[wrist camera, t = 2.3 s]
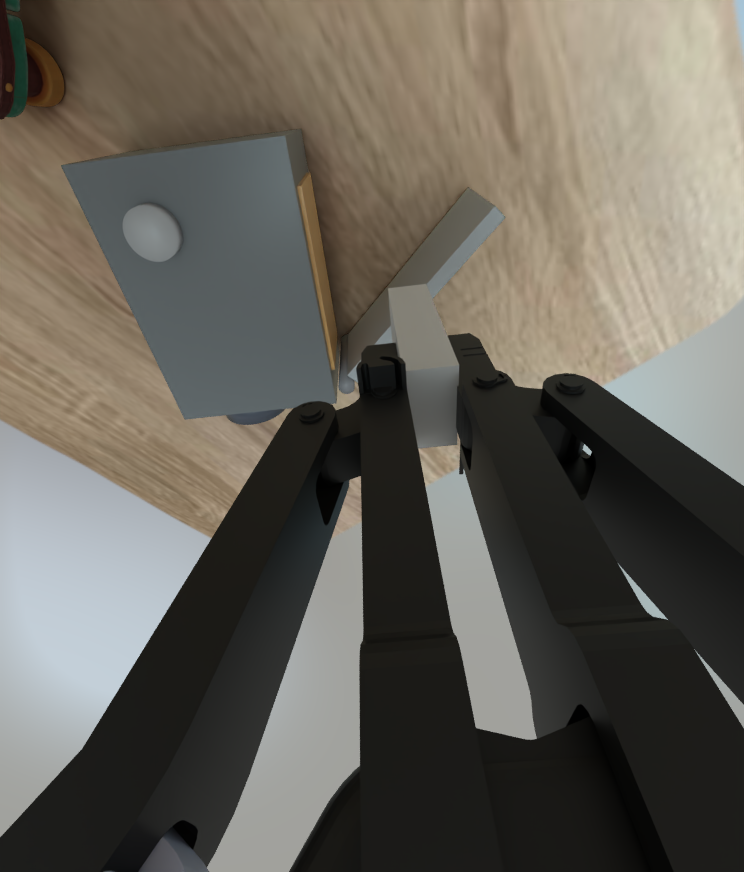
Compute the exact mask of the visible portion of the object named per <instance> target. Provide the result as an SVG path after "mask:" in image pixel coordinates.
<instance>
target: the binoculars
mask: <svg viewBox="0 0 744 872" xmlns="http://www.w3.org/2000/svg"><path fill="white" fill-rule="evenodd" d="M6 9H8V10H11V11H14V12H19V11H20V2H19V0H0V119H4V118H5V117H16V116H18V115H19V114H21V113H22V112H23V110H24V108H25V106H26V104H28V105H31V106H42V107H50V106H54V105H56V104H58V103H59V102H60V101H61V99H62V97H63V95H64V80H63V77H62V73H61V71H60V69H59V67H58V65H57V63H56V62H55V60H54V59H53V58H52V56H51V55H50V54H49V53H48V52H47V51H46V50H45V49H44V48H43V47H41V46H40V45H39V44H37V43H36V42H34V41H32V40H30V39H27V38H24V31H23V25H22V21H21V20H20V18H19V17H17V16H14V15H11V14H7V11H6Z"/></svg>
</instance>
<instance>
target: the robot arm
mask: <svg viewBox="0 0 744 872" xmlns="http://www.w3.org/2000/svg"><path fill="white" fill-rule="evenodd" d="M388 295H389V308H390V320H391V333H392V343H387V344H378V345H369V346H366V348H365V349H364V350H363V352H362V353H361V362H359V363H358V365H357V367H356V372H357V379H358V386H359V393H360V398H359V399H358V400H357V401H356V402H355V403H353V404H351V405H350V406H348V407H345V408H342V409H339V410H335V408H334V407H333V405H331V404H329V403H327V402H322V401H313V402H312V401H311V402H307V403H303V404H301V405H299V406H297V407H295V408H294V409H292V411H291V412H290V413H289V414H288V415H287V417H286V418H285V420H284V422H283V423H282V425H281V427H280V428H279V430H278V431H277V433H276V435H275V436H274V438H273V440H272V441H271V443H270V444H269V446H268V448H267V449H266V451H265V453H264V454H263V456H262V457H261V459H260V461H259V462H258V464H257V466H256V467H255V469H254V470H253V472H252V474H251V475H250V477H249V479H248V480H247V482H246V483H245V485H244V487H243V488H242V490H241V492H240V493H239V495H238V497H237V498H236V500H235V501H234V503H233V505H232V506H231V508H230V510H229V511H228V513H227V514H226V516H225V518H224V519H223V521H222V523H221V524H220V526H219V527H218V529H217V531H216V532H215V534H214V536H213V537H212V539H211V540H210V542H209V544H208V545H207V547H206V549H205V550H204V552H203V553H202V555H201V557H200V558H199V560H198V562H197V564H196V565H195V566H194V568H193V570H192V571H191V573H190V575H189V576H188V578H187V579H186V581H185V583H184V584H183V586H182V588H181V589H180V591H179V592H178V594H177V596H176V597H175V599H174V601H173V602H172V604H171V606H170V607H169V609H168V610H167V612H166V614H165V615H164V617H163V618H162V620H161V622H160V623H159V625H158V627H157V628H156V630H155V631H154V633H153V635H152V636H151V638H150V640H149V641H148V643H147V644H146V646H145V648H144V649H143V651H142V653H141V654H140V656H139V657H138V659H137V661H136V662H135V664H134V666H133V667H132V669H131V670H130V672H129V674H128V675H127V677H126V679H125V680H124V682H123V684H122V685H121V687H120V688H119V690H118V692H117V693H116V695H115V697H114V698H113V700H112V701H111V703H110V705H109V706H108V708H107V710H106V711H105V713H104V714H103V716H102V718H101V719H100V721H99V723H98V724H97V726H96V727H95V729H94V731H93V732H92V734H91V736H90V737H89V739H88V740H87V742H86V744H85V745H84V747H83V749H82V750H81V751H80V752H79V753H78V754H77V755H76V756H75V757H74V759H72V761H71V762H70V763H69V764H68V765H67V766H66V767H65V768H64V769H63V770H62V771H61V772H60V773H59V775H58V776H57V777H56V778H55V779H54V780H53V781H52V782H51V783H50V784H49V785H48V786H47V788H46V789H45V790H44V791H43V792H42V793H41V794H40V795H39V796H38V797H37V798H36V799H35V801H34V802H33V803H32V804H31V805H30V806H29V807H28V808H27V809H26V810H25V812H23V813H22V815H21V816H20V817H19V818H18V819H17V820H16V821H15V822H14V823H13V824H12V826H10V828H9V829H8V830H7V831H6V832H5V833H4V834H3V835H2V836H1V837H0V872H209V871H208V869H207V866H208V864H209V862H210V861H211V859H212V857H213V856H214V854H215V852H216V850H217V848H218V846H219V844H220V842H221V839H222V837H223V835H224V833H225V831H226V829H227V827H228V825H229V823H230V821H231V819H232V817H233V815H234V812H235V810H236V807H237V805H238V802H239V799H240V797H241V794H242V792H243V789H244V787H245V784H246V782H247V779H248V777H249V774H250V771H251V768H252V765H253V763H254V760H255V757H256V754H257V751H258V748H259V745H260V742H261V739H262V737H263V734H264V731H265V728H266V725H267V722H268V719H269V716H270V713H271V710H272V708H273V704H274V702H275V699H276V696H277V693H278V690H279V687H280V684H281V681H282V679H283V676H284V673H285V670H286V667H287V664H288V661H289V658H290V655H291V652H292V650H293V646H294V644H295V641H296V638H297V635H298V632H299V629H300V627H301V623H302V621H303V618H304V615H305V612H306V609H307V606H308V603H309V600H310V598H311V595H312V592H313V589H314V586H315V583H316V580H317V577H318V574H319V571H320V569H321V566H322V563H323V560H324V557H325V554H326V551H327V548H328V545H329V543H330V540H331V537H332V534H333V531H334V528H335V525H336V522H337V519H338V517H339V514H340V511H341V508H342V505H343V502H344V499H345V496H346V493H347V491H348V488H349V480H350V479H353V478H356V477H358V476H361V500H362V561H363V562H362V563H363V622H364V623H363V624H364V633H363V634H364V635H363V641H362V643H361V647H360V766H359V767H358V768H357V769H356V770H355V771H354V772H353V773H352V774H351V775H350V776H349V777H348V778H347V779H346V780H345V781H344V782H343V783H342V785H341V786H340V787H339V788H338V790H337V791H336V793H335V794H334V795H333V797H332V798H331V799H330V801H329V803H328V804H327V806H326V807H325V809H324V811H323V812H322V814H321V816H320V818H319V820H318V821H317V823H316V825H315V827H314V828H313V830H312V832H311V834H310V836H309V837H308V839H307V841H306V843H305V844H304V846H303V848H302V850H301V851H300V853H299V855H298V857H297V858H296V860H295V862H294V864H293V866H292V867H291V869H290V871H289V872H744V728H743V727H742V725H741V723H740V722H739V720H738V719H737V717H736V715H735V714H734V712H733V711H732V709H731V707H730V706H729V704H728V703H727V701H726V700H725V698H724V696H723V695H722V693H721V691H720V690H719V688H718V687H717V685H716V684H715V682H714V680H713V679H712V677H711V675H710V674H709V672H708V671H707V669H706V668H705V666H704V664H703V663H702V661H701V660H700V658H699V656H698V655H697V653H698V654H699V655H700V656H701V657H702V658H703V659H704V660H705V662H706V663H707V664H708V665H709V666H710V667H711V668H712V669H713V671H714V672H715V673H716V674H717V675H718V676H719V677H720V678H721V680H722V681H723V682H724V683H725V684H726V685H727V686H728V687H729V688H730V689H731V691H732V692H733V693H734V694H735V695H736V696H737V698H738V699H739V700H740V701H741V702H742V703H743V704H744V486H743V485H741V484H740V483H738V482H737V481H736V480H734V479H732V478H731V477H730V476H729V475H727V474H726V473H724V472H723V471H721V470H720V469H718V468H717V467H716V466H714V465H713V464H711V463H710V462H708V461H707V460H706V459H704V458H703V457H701V456H700V455H698V454H697V453H695V452H694V451H692V450H691V449H690V448H688V447H687V446H685V445H684V444H683V443H681V442H680V441H678V440H677V439H675V438H674V437H672V436H671V435H670V434H668V433H667V432H665V431H664V430H663V429H661V428H660V427H658V426H657V425H655V424H654V423H653V422H651V421H650V420H648V419H647V418H645V417H644V416H642V415H641V414H640V413H638V412H637V411H635V410H634V409H632V408H631V407H629V406H628V405H627V404H625V403H624V402H622V401H621V400H619V399H618V398H617V397H615V396H614V395H612V394H611V393H610V392H608V391H607V390H605V389H604V388H602V387H601V386H599V385H598V384H597V383H595V382H594V381H592V380H590V379H588V378H586V377H584V376H580V375H576V374H571V373H570V374H569V373H564V374H557V375H553V376H551V377H548V378H547V379H546V380H545V381H544V382H543V388H542V389H534V388H523V387H518V386H515V384H514V383H513V381H512V379H511V378H510V377H509V376H508V375H507V374H505V373H503V372H501V371H498V370H495V368H494V366H493V364H492V362H491V360H490V359H489V357H488V355H487V354H486V351H485V349H484V348H483V346H482V344H481V342H480V340H479V339H478V338H476V337H475V336H473V335H471V334H470V333H467V334H458V335H449V336H447V334H446V331H445V329H444V326H443V324H442V321H441V319H440V316H439V314H438V312H437V309H436V307H435V304H434V302H433V299H432V297H431V294H430V292H429V289H428V287H427V285H426V284H421V285H412V286H404V287H395V288H388ZM457 432H458V435H459V438H460V467H459V470H460V471H459V474H463V469H464V470H465V474H466V477H467V480H468V483H469V487H470V490H471V494H472V497H473V501H474V504H475V507H476V510H477V514H478V517H479V521H480V524H481V527H482V531H483V534H484V537H485V541H486V544H487V548H488V551H489V554H490V558H491V561H492V564H493V568H494V571H495V574H496V578H497V581H498V585H499V588H500V591H501V594H502V598H503V601H504V605H505V608H506V612H507V615H508V618H509V622H510V625H511V628H512V632H513V635H514V638H515V642H516V645H517V648H518V652H519V655H520V659H521V662H522V665H523V669H524V672H525V675H526V679H527V682H528V686H529V689H530V695H531V700H532V713H533V721H534V727H535V732H536V736H537V739H535V740H525V739H521V738H516V737H512V736H507V735H503V734H499V733H494V732H490V731H486V730H481V729H477V728H476V727H475V722H474V717H473V711H472V706H471V701H470V696H469V691H468V686H467V681H466V676H465V671H464V666H463V661H462V656H461V652H460V647H459V643H458V640H457V637H456V636H455V635H454V633H453V630H452V626H451V622H450V616H449V610H448V605H447V600H446V595H445V589H444V584H443V579H442V574H441V568H440V563H439V557H438V552H437V547H436V541H435V536H434V530H433V525H432V520H431V514H430V509H429V504H428V498H427V493H426V488H425V482H424V477H423V472H422V466H421V461H420V456H419V450H418V448H428V447H438V446H448V445H457ZM584 444H585V445H586V446H588V448H589V449H590V450H591V451H592V453H591V456H590V455H588V454H587V453H586V452H584V451H583V450H582V449H583V446H584ZM618 564H619V565H620V566H621V567H622V568H623V569H624V570H625V572H626V573H627V574H628V575H629V576H630V577H631V578H632V579H633V580H634V582H635V583H636V584H637V585H638V586H639V587H640V588H641V590H642V591H643V592H644V593H645V594H646V595H647V596H648V597H649V599H650V600H651V601H652V602H653V603H654V604H655V605H656V606H657V607H658V609H659V610H660V611H661V612H662V613H663V614H664V615H665V617H666V618H667V619H668V620H666V619H661V618H656V617H652V616H651V615H650V614H649V613H647V612H646V611H645V609H644V608H643V606H642V605H641V603H640V601H639V600H638V598H637V596H636V594H635V593H634V591H633V589H632V588H631V586H630V584H629V583H628V581H627V579H626V577H625V575H624V574H623V572H622V570H621V568H620V567H619V565H618ZM694 649H695V650H696V651H697V653H696V651H695V650H694Z"/></svg>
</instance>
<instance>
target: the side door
mask: <svg viewBox="0 0 744 872" xmlns="http://www.w3.org/2000/svg"><path fill="white" fill-rule="evenodd" d="M504 219H505V216H504V215H503V214H502V213H501V212H500V211H499V210H498V209H497V207H496V206H494V205H493V204H492V203H490V202H489V201H487V200H486V199H485V198H483V197H482V196H480V195H479V194H477V193H476V192H475V191H473V190H472V189H470V188H469V187H468V188H467V189H466V191H465V192H464V193H463V194H462V195H461V197H460V198H459V199H458V200H457V202H456V203H455V204H454V205H453V206H452V208H451V209H450V210H449V211H448V213H447V214H446V215H445V216H444V217H443V219H442V220H441V221H440V222H439V224H438V225H437V226H436V227H435V228H434V230H433V231H432V232H431V233H430V235H429V236H428V237H427V238H426V240H425V241H424V242H423V243H422V244H421V246H420V247H419V248H418V249H417V251H416V252H415V253H414V254H413V255H412V257H411V258H410V259H409V260H408V262H407V263H406V264H405V265H404V266H403V268H402V269H401V270H400V271H399V273H398V274H397V275H396V276H395V277H394V279H393V280H392V281H391V282H390V284H389V285H388V286H387V287H386V288H385V290H384V291H383V292H382V293H381V295H380V296H379V297H378V298H377V299H376V301H375V302H374V303H373V304H372V306H371V307H370V308H369V309H368V310H367V312H366V313H365V314H364V315H363V317H362V318H361V319H360V320H359V321H358V323H357V324H356V325H355V326H354V328H353V329H352V330H351V331H350V332H349V334H347V335H344V336H343V337H342V338H341V352H340V371H339V390H340V391H341V392H342V393H345V394H349V393H351V392H353V390H354V380H355V381H356V382H358V379H357V372H356V367H357V365H358V363H359V362H361V353H362V352H363V350H364V349H365V348H366V346H369V345H378V344H387V343H392V333H391V320H390V308H389V295H388V288H395V287H404V286H412V285H421V284H426V285H427V287H428V289H429V292H430V294H431V297H432V299H433V298H434V296H435V295H436V294H437V293H438V292H439V291H440V290H441V289H442V288H443V286H444V285H445V284H446V283H447V282H448V281H449V280H450V279H451V278H452V276H453V275H454V274H455V273H456V272H457V271H458V270H459V269H460V268H461V266H462V265H463V264H464V263H465V262H466V261H467V260H468V259H469V258H470V256H471V255H472V254H473V253H474V252H475V251H476V250H477V249H478V247H479V246H480V245H481V244H482V243H483V242H484V241H485V240H486V239H487V237H488V236H489V235H490V234H491V233H492V232H493V231H494V230H495V229H496V227H497V226H498V225H499V224H500V223H501V222H502V221H503V220H504Z"/></svg>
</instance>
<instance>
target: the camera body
mask: <svg viewBox="0 0 744 872" xmlns="http://www.w3.org/2000/svg"><path fill="white" fill-rule="evenodd" d="M61 167H62V169H63V171H64V173H65V175H66V177H67V179H68V181H69V183H70V185H71V187H72V189H73V191H74V193H75V195H76V197H77V199H78V201H79V204H80V206H81V208H82V210H83V212H84V214H85V216H86V218H87V220H88V222H89V224H90V226H91V228H92V230H93V232H94V234H95V236H96V238H97V240H98V242H99V245H100V247H101V249H102V251H103V253H104V255H105V257H106V259H107V261H108V263H109V265H110V267H111V269H112V271H113V273H114V275H115V277H116V279H117V281H118V284H119V286H120V288H121V290H122V292H123V294H124V296H125V298H126V300H127V302H128V304H129V306H130V308H131V310H132V312H133V314H134V316H135V318H136V320H137V322H138V325H139V327H140V329H141V331H142V333H143V335H144V337H145V339H146V341H147V343H148V345H149V347H150V349H151V351H152V353H153V355H154V357H155V359H156V361H157V363H158V366H159V368H160V370H161V372H162V374H163V376H164V378H165V380H166V382H167V384H168V386H169V388H170V390H171V392H172V394H173V396H174V398H175V400H176V402H177V405H178V407H179V409H180V411H181V413H182V415H183V417H184V419H194V418H203V417H212V416H222V415H226V416H227V418H228V419H229V420H230V421H232V422H234V423H236V424H242V425H251V424H257V423H262V422H265V421H268V420H270V419H272V418H274V417H276V416H277V415H279V414H280V413H281V412H283V411H284V410H285V409H287V408H295V407H297V406H299V405H301V404H303V403H307V402H311V401H312V402H313V401H322V402H327V403H329V404H334V403H336V402H337V385H338V368H339V347H338V341H337V328H336V322H335V316H334V310H333V304H332V298H331V292H330V286H329V281H328V275H327V269H326V263H325V257H324V251H323V245H322V239H321V233H320V227H319V221H318V215H317V209H316V204H315V198H314V192H313V186H312V180H311V174H310V172H308V166H307V160H306V154H305V148H304V143H303V137H302V131H301V129H296V130H288V131H281V132H273V133H266V134H258V135H251V136H243V137H236V138H228V139H221V140H213V141H206V142H198V143H191V144H183V145H176V146H168V147H161V148H153V149H146V150H138V151H131V152H125V153H120V154H115V155H110V156H105V157H100V158H95V159H90V160H85V161H80V162H75V163H71V164H66V165H61Z"/></svg>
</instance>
